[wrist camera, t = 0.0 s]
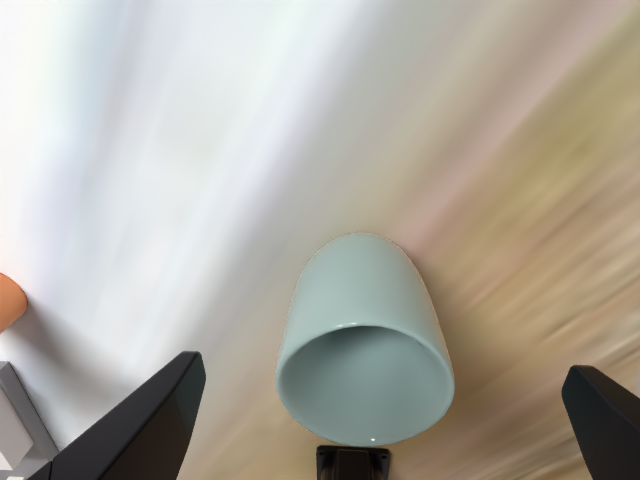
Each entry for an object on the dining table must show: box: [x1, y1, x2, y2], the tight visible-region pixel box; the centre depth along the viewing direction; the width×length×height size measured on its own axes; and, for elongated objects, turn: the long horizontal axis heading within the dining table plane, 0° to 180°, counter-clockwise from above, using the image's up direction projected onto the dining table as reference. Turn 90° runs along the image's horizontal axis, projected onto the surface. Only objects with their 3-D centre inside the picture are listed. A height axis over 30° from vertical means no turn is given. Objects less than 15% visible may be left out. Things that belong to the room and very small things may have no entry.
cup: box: [275, 232, 455, 447], centre depth 21 cm, size 8×8×10 cm
